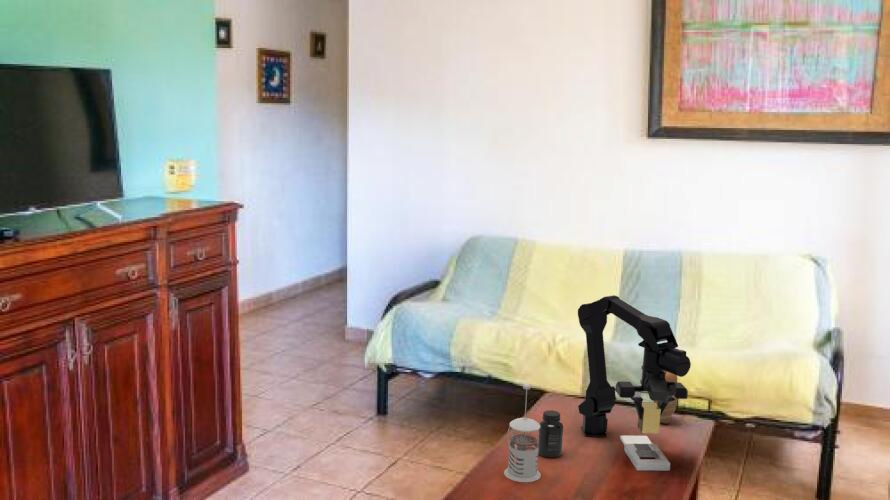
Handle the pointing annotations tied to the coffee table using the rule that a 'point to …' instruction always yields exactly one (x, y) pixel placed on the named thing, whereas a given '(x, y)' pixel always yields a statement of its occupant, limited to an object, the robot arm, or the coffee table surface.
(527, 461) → the french press
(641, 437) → the coaster
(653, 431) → the brass metal cube
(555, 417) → the supplement bottle
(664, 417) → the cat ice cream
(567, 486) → the coffee table surface
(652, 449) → the white flat frame
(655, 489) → the coffee table surface
